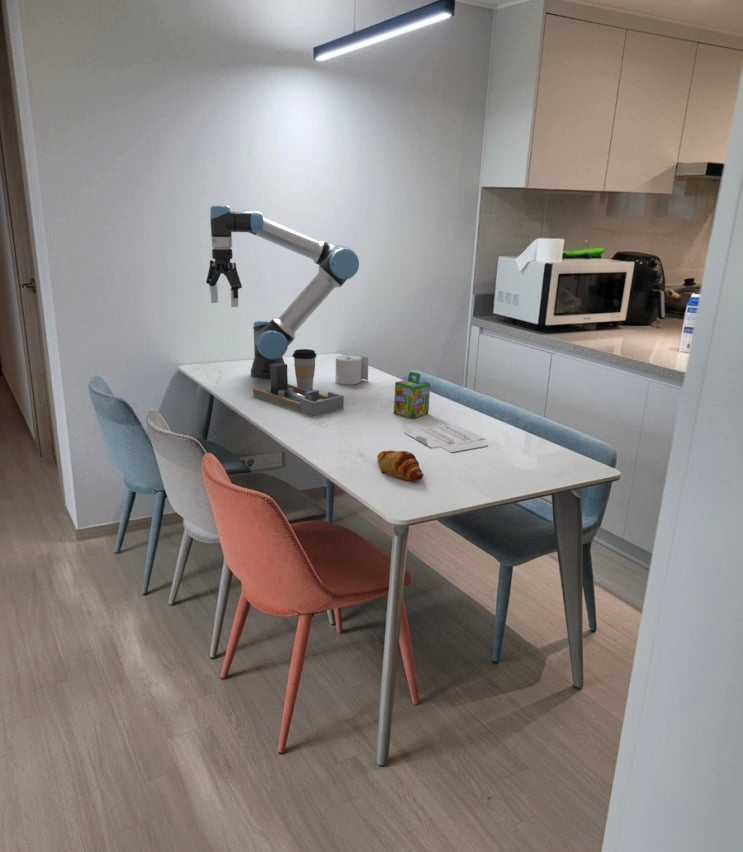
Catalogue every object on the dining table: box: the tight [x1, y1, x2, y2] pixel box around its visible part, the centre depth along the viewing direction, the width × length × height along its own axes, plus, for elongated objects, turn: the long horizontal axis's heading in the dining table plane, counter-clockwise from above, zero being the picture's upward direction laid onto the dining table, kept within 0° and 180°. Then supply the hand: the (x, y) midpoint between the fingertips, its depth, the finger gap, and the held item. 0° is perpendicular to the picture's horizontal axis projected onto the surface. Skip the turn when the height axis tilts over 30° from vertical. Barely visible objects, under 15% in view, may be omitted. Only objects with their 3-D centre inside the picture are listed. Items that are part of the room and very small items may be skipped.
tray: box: [403, 420, 488, 454], centre depth 228 cm, size 20×28×4 cm
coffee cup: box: [291, 348, 317, 391], centre depth 278 cm, size 9×9×15 cm
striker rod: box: [269, 362, 320, 402], centre depth 260 cm, size 5×22×11 cm, turn 45°
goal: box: [299, 391, 345, 417], centre depth 251 cm, size 14×8×5 cm, turn 135°
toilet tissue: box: [335, 354, 369, 386], centre depth 291 cm, size 11×12×10 cm
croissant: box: [376, 449, 424, 482], centre depth 197 cm, size 21×10×8 cm, turn 32°
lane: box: [252, 384, 328, 413], centre depth 263 cm, size 14×28×4 cm, turn 45°
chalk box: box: [393, 371, 431, 420], centre depth 248 cm, size 9×9×15 cm
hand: (224, 304), depth 274 cm, fingers open, 13 cm apart
